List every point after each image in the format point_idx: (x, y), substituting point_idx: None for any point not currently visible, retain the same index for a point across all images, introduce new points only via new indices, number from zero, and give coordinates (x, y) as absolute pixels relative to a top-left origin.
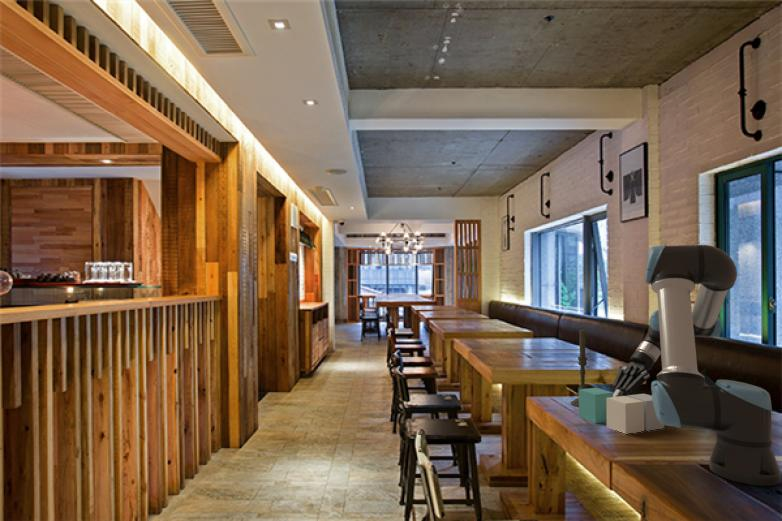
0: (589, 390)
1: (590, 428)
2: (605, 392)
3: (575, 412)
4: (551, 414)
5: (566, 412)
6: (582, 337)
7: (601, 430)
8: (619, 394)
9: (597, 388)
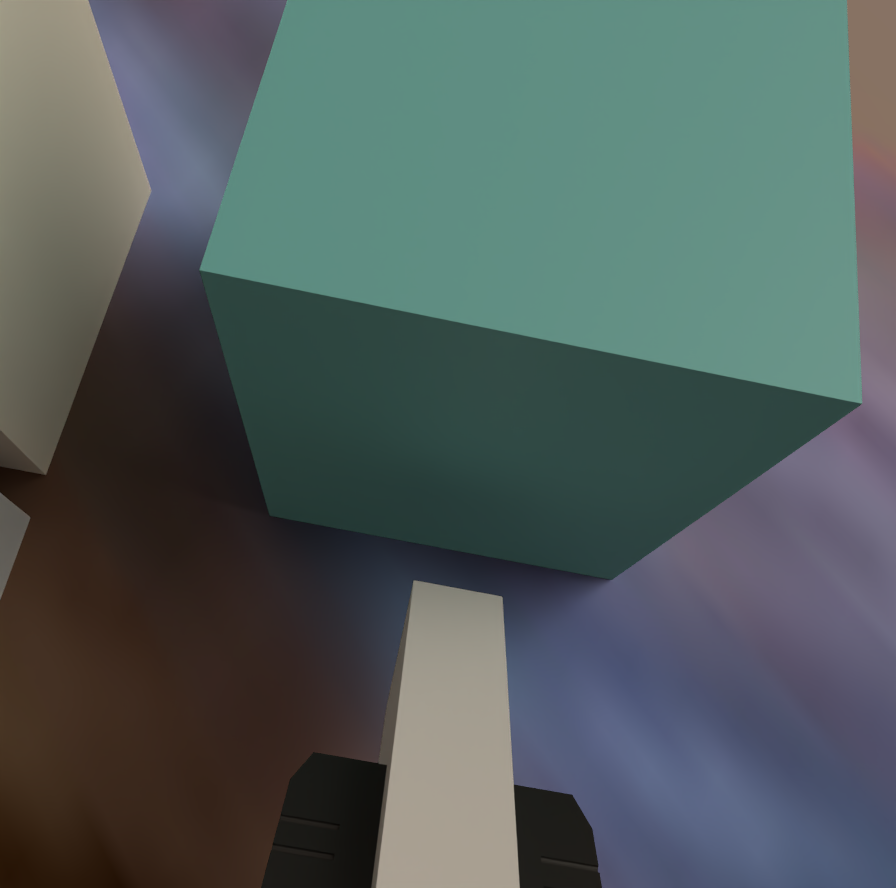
0: (684, 34)
1: (254, 41)
2: (336, 132)
3: (835, 440)
4: (861, 143)
5: (875, 343)
6: None
7: (130, 65)
8: (350, 875)
9: (774, 354)
